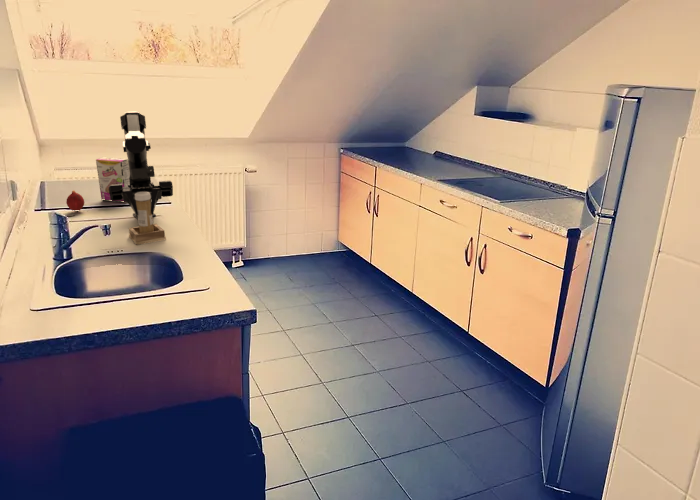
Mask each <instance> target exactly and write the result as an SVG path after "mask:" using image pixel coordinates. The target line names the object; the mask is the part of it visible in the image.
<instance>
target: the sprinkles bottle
mask: <svg viewBox="0 0 700 500" xmlns="http://www.w3.org/2000/svg"><path fill="white" fill-rule="evenodd" d="M150 199H151V196H150V193H149V192H137V193H135V200H136V205H137V214H138V219H137V223H138V226H139V229H140V234H141V233H147V232H153V231H154V227H153V224H154V219H153V218H154V217H152V211H151V202H150Z"/></svg>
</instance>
